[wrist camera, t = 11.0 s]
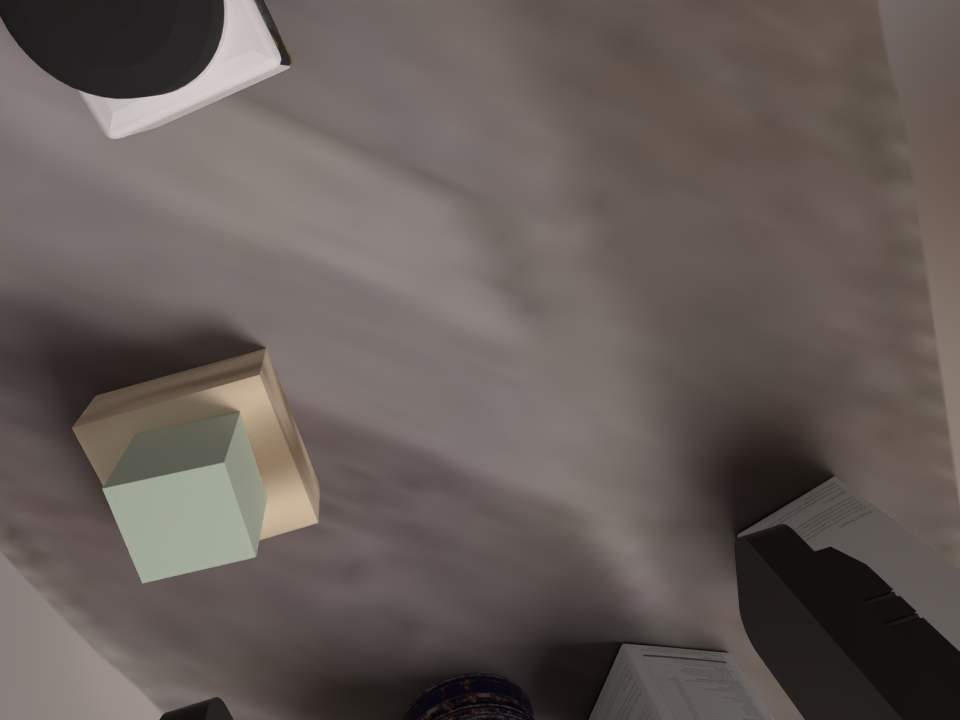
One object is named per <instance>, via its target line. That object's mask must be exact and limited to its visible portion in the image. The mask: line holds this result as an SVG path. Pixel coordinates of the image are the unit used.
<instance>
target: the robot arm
mask: <svg viewBox="0 0 960 720" xmlns="http://www.w3.org/2000/svg"><path fill="white" fill-rule="evenodd" d="M735 560H736V573H737V585H738V597H739V609H740V615H741V619H742V623H743V625H744V628H745V631H746V633H747V635H748V638H749V640H750V642H751V644H752V645H753V647H754V649H755V650H756V652H757V653H758V655H759V656H760V658H761V659H762V660H763V662H764V663H765V665H766V666H767V667H768V669H769V670H770V672H771V673H772V674H773V676H774V677H775V679H776V680H777V681H778V683H779V684H780V685H781V687H782V688H783V690H784V691H785V692H786V694H787V695H788V697H789V698H790V699H791V701H792V702H793V704H794V705H795V706H796V708H797V709H798V711H799V712H800V713H801V715H802V716H803V718H804V719H805V720H960V651H959V650H958V649H956V648H955V647H954V646H953V645H952V644H951V643H950V642H949V641H948V640H947V639H946V638H945V637H944V636H943V635H942V634H940V633H939V632H938V631H937V630H936V629H935V628H934V627H933V626H932V625H931V624H930V623H929V622H928V621H927V620H926V619H924V618H920V617H919V616H918V613H917V611H916V610H915V609H914V608H913V607H912V606H911V605H910V604H908V603H907V602H906V601H905V600H904V599H903V598H902V597H901V596H900V595H899V596H897V595H896V594H895V592H894V589H892V588H891V587H890V586H889V585H888V584H887V583H886V582H885V581H884V580H883V579H882V578H881V577H880V576H879V575H878V574H876V573H875V572H874V571H873V570H872V569H871V568H870V567H869V566H868V565H867V564H865V563H863V562H861V561H859V560H857V559H855V558H853V557H851V556H849V555H847V554H845V553H843V552H841V551H839V550H837V549H835V548H833V547H831V546H830V547H827V548H824V549H821V550H818V551H814V550H813V549H812V548H811V547H810V546H809V545H808V544H807V543H806V542H805V541H804V540H803V539H802V538H801V537H800V536H799V535H798V534H797V533H796V532H795V531H794V530H793V529H792V528H791V527H789V526H788V525H786V524H779V525H776V526H773V527H770V528H767V529H763V530H760V531H757V532H754V533H750V534H747V535H744V536H741V537H738V538H737V539H736V540H735ZM160 720H233V718H232V716H231V714H230V712H229V710H228V709H227V707H226V705H225V703H224V702H223V701H222V699H220V698H218V697H215V698H212V699H208V700H205V701H202V702H199V703H196V704H192V705H189V706H186V707H183V708H179V709H176V710H173V711H170V712H166V713H165V714H163V715H162V717H161V718H160Z"/></svg>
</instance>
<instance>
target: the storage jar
mask: <svg viewBox="0 0 960 720" xmlns="http://www.w3.org/2000/svg"><path fill="white" fill-rule="evenodd" d="M402 720H535V718H534V717H533V710H532V707H531V704H530V701H529V699H528V697H527V695H526V694H525V692H524V691H523V690H522V689H521V688H520V687H519V686H518V685H516V684H515V683H513V682H512V681H510V680H507V679H505V678H503V677H499V676H496V675H489V674H468V675H462V676H457V677H453V678H450V679H447V680H445V681H442V682H440V683H438V684H436V685H434V686H432V687H431V688H429V689H428V690H426V691H425V692H423V693H422V694H421V695H420V696H419V697H417V698H416V699H415V700H414V702H413V703H412V704H411V705H410V706H409V708H408V709H407V711H406V712H405V714H404V716H403V719H402Z"/></svg>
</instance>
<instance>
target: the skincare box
mask: <svg viewBox="0 0 960 720" xmlns="http://www.w3.org/2000/svg"><path fill="white" fill-rule="evenodd" d="M779 524H786V525H788V526H789V527H791V528H792V529H793V530H794V531H795V532H796V533H797V534H798V535H799V536H800V537H801V538H802V539H803V540H804V541H805V542H806V543H807V544H808V545H809V546H810V547H811V548H812V549H813V550H814V551H818V550H821V549H824V548H827V547H830V546H831V547H833V548H835V549H837V550H839V551H841V552H843V553H845V554H847V555H849V556H851V557H853V558H855V559H857V560H859V561H861V562H863V563H865V564H867V565H868V566H869V567H870V568H871V569H872V570H873V571H874V572H875V573H876V574H878V575H879V576H880V577H881V578H882V579H883V580H884V581H885V582H886V583H887V584H888V585H889V586H890V587H891V588H892V589H894V592H895V594H896V595H897V596H899V595H900V596H901V597H902V598H903V599H904V600H905V601H906V602H907V603H908V604H910V605H911V606H912V607H913V608H914V609H915V610H916V611H917V613H918V616H919V617H920V618H924V619H926V620H927V621H928V622H929V623H930V624H931V625H932V626H933V627H934V628H935V629H936V630H937V631H938V632H939V633H940V634H942V635H943V636H944V637H945V638H946V639H947V640H948V641H949V642H950V643H951V644H952V645H953V646H954V647H955V648H956V649H958V650H959V651H960V570H959V569H958V568H957V567H955V566H954V565H953V564H951V563H950V562H949V561H947V560H946V559H945V558H943V557H942V556H941V555H939V554H938V553H937V552H935V551H934V550H933V549H931V548H930V547H929V546H927V545H926V544H925V543H923V542H922V541H921V540H919V539H918V538H917V537H915V536H914V535H913V534H912V533H910V532H909V531H908V530H906V529H905V528H904V527H902V526H901V525H900V524H898V523H897V522H896V521H894V520H893V519H892V518H890V517H889V516H888V515H886V514H885V513H884V512H882V511H881V510H880V509H878V508H877V507H876V506H874V505H873V504H872V503H870V502H869V501H868V500H866V499H865V498H864V497H862V496H861V495H860V494H858V493H857V492H856V491H854V490H853V489H852V488H850V487H849V486H848V485H846V484H845V483H844V482H842V481H841V480H840V479H838V478H837V477H835V476H834V477H832V478H831V479H829V480H827V481H826V482H824V483H822V484H821V485H819V486H817V487H816V488H814V489H812V490H811V491H809V492H807V493H806V494H804V495H803V496H801V497H799V498H798V499H796V500H794V501H793V502H791V503H789V504H788V505H786V506H784V507H783V508H781V509H779V510H778V511H776V512H774V513H773V514H771V515H769V516H768V517H766V518H764V519H763V520H761V521H759V522H758V523H756V524H754V525H753V526H751V527H749V528H748V529H746V530H744V531H743V532H741V533H739V534H738V535H737V538H738V537H741V536H744V535H747V534H750V533H754V532H757V531H760V530H763V529H767V528H770V527H773V526H776V525H779Z"/></svg>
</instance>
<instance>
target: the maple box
mask: <svg viewBox="0 0 960 720" xmlns="http://www.w3.org/2000/svg"><path fill="white" fill-rule="evenodd" d="M238 412H241V415H242V419H243V422H244V425H245V428H246V431H247V434H248V438H249V441H250V444H251V447H252V450H253V453H254V456H255V460H256V463H257V466H258V469H259V472H260V475H261V479H262V482H263V485H264V488H265V491H266V494H267V502H266V507H265V513H264V518H263V523H262V528H261V534H260V539H259V540H262V539H266V538H269V537H272V536H275V535H279V534H282V533H285V532H289V531H292V530H295V529H299V528H302V527H305V526H309V525H312V524H315V523H318V516H319V492H320V486H319V483H318V481H317V478H316V475H315V473H314V470H313V468H312V465H311V462H310V460H309V457H308V455H307V452H306V449H305V447H304V444H303V442H302V439H301V437H300V434H299V431H298V429H297V426H296V424H295V421H294V418H293V416H292V413H291V411H290V408H289V406H288V403H287V400H286V398H285V395H284V393H283V390H282V387H281V385H280V382H279V380H278V377H277V374H276V372H275V369H274V367H273V364H272V362H271V359H270V356H269V354H268V351H267V349H266V348H265V349H261V350H258V351H254V352H251V353H247V354H243V355H240V356H236V357H233V358H229V359H225V360H222V361H218V362H215V363H211V364H208V365H204V366H200V367H197V368H193V369H190V370H186V371H182V372H179V373H175V374H172V375H168V376H164V377H161V378H157V379H154V380H150V381H146V382H143V383H139V384H136V385H132V386H129V387H125V388H121V389H118V390H114V391H111V392H107V393H103V394H100V395H96V396H95V397H94V399H93V400H92V401H91V403H90V404H89V405H88V407H87V408H86V409H85V411H84V412H83V413H82V415H81V416H80V417H79V419H78V420H77V421H76V423H75V424H74V425H73V427H72V429H73V431H74V433H75V435H76V437H77V439H78V441H79V442H80V444H81V446H82V448H83V450H84V452H85V453H86V455H87V457H88V459H89V461H90V463H91V465H92V466H93V468H94V470H95V472H96V474H97V476H98V477H99V479H100V481H101V483H102V485H103V487H104V485H105V483H106V482H107V480H108V478H109V477H110V475H111V473H112V472H113V470H114V468H115V467H116V465H117V464H118V462H119V460H120V459H121V457H122V455H123V454H124V452H125V450H126V449H127V447H128V445H129V444H130V442H131V440H132V439H133V437H134V435H135V434H137V433H142V432H147V431H151V430H156V429H161V428H166V427H170V426H175V425H180V424H185V423H190V422H194V421H199V420H204V419H209V418H214V417H218V416H223V415H228V414H233V413H238Z"/></svg>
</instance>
